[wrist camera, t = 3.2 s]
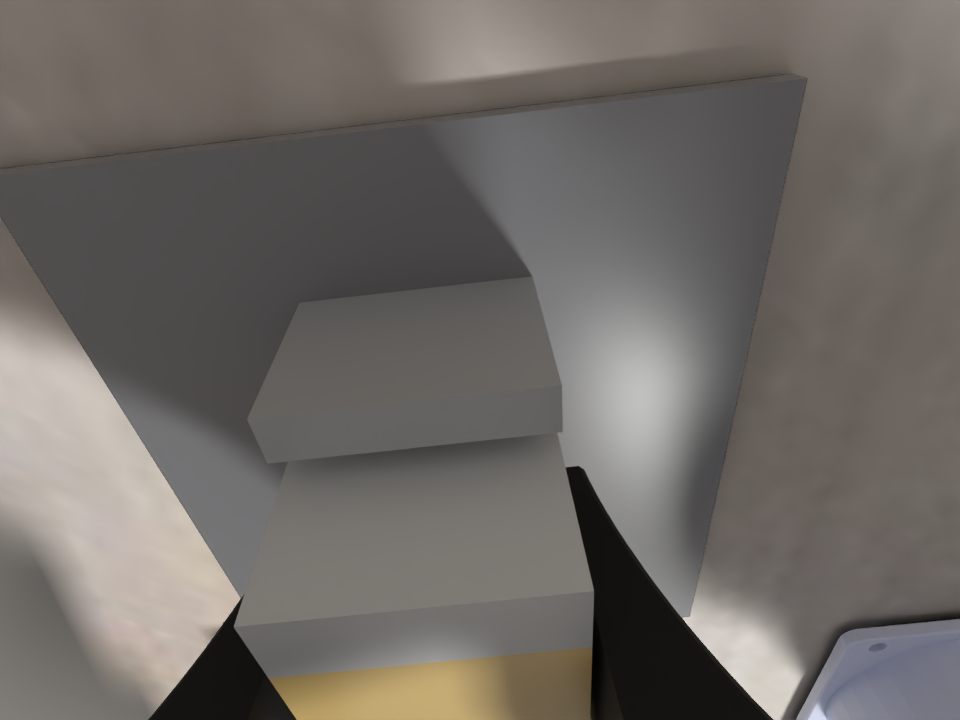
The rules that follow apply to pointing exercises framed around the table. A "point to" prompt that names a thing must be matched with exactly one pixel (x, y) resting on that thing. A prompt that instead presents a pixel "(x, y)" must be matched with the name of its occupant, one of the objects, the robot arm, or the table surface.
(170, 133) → the table surface
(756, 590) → the table surface
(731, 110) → the fuse block
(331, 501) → the block
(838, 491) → the table surface
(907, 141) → the table surface
